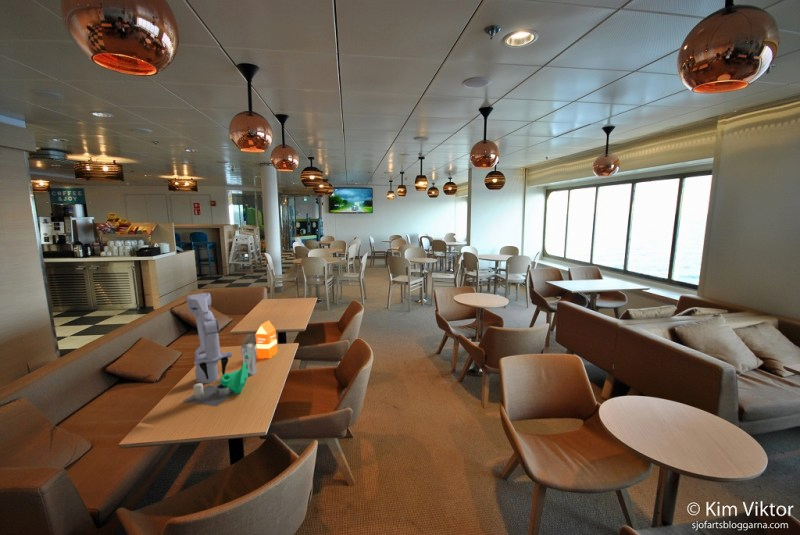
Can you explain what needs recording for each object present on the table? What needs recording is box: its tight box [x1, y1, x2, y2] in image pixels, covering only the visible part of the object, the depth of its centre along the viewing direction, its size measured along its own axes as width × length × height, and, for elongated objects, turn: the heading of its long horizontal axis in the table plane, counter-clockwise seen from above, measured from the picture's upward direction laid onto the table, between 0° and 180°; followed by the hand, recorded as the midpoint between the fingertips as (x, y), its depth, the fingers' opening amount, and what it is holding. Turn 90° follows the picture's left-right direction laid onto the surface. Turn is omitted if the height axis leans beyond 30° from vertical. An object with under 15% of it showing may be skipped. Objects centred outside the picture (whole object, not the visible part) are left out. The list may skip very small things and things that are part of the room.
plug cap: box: [192, 382, 204, 400], centre depth 147 cm, size 4×4×6 cm
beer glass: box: [240, 343, 258, 377], centre depth 171 cm, size 7×7×15 cm
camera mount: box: [219, 362, 249, 395], centre depth 151 cm, size 12×8×10 cm
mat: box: [183, 384, 236, 407], centre depth 149 cm, size 18×14×1 cm
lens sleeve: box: [214, 383, 233, 397], centre depth 150 cm, size 7×7×4 cm
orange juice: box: [254, 320, 278, 359], centre depth 192 cm, size 8×9×20 cm
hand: (215, 376), depth 149 cm, fingers open, 6 cm apart
